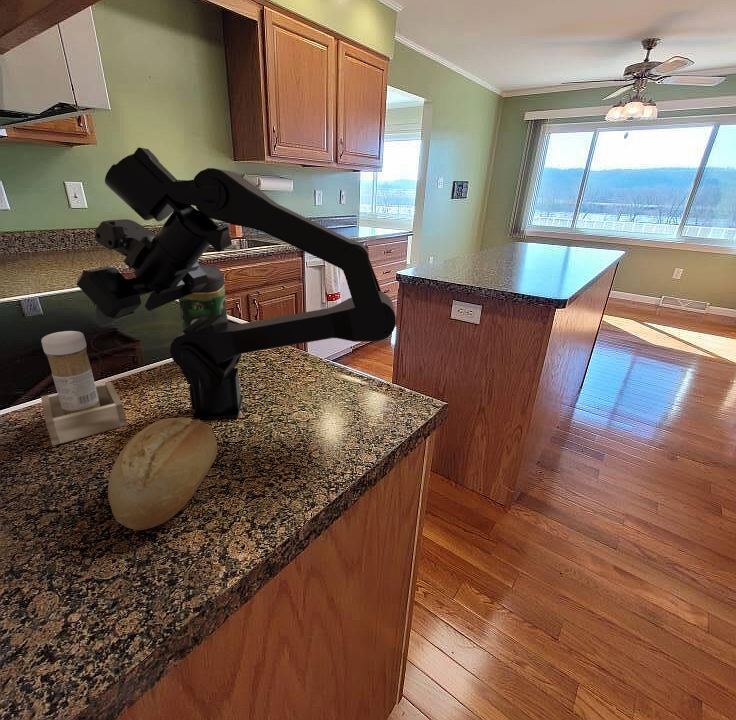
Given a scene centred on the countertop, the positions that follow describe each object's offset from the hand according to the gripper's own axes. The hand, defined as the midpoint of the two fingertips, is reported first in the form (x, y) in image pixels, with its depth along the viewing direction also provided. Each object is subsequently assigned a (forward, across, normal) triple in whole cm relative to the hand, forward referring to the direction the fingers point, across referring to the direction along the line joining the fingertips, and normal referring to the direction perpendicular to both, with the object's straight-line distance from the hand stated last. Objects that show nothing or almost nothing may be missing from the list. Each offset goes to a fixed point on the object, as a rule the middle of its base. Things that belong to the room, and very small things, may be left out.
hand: (124, 316), depth 60 cm
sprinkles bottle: (+10, +9, +9) cm, 17 cm away
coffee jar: (+9, -16, +11) cm, 22 cm away
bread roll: (-4, +17, +24) cm, 29 cm away
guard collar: (+10, +9, +9) cm, 16 cm away
